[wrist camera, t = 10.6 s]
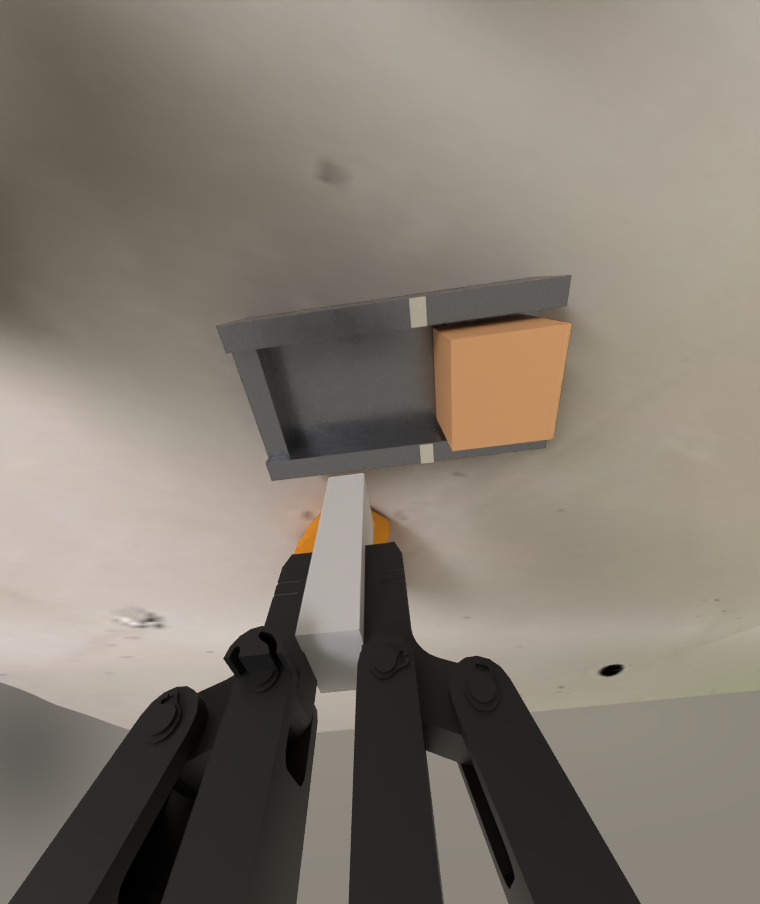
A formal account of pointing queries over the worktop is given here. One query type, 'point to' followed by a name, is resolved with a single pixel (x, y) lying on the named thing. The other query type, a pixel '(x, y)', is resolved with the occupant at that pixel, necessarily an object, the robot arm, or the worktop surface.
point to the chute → (365, 376)
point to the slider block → (499, 380)
